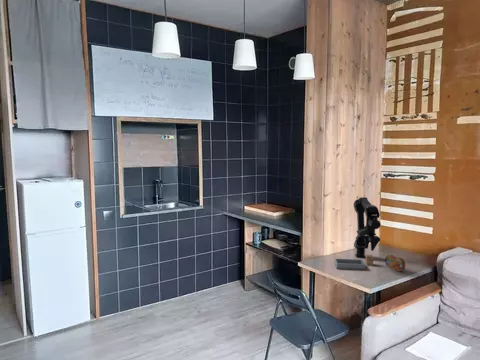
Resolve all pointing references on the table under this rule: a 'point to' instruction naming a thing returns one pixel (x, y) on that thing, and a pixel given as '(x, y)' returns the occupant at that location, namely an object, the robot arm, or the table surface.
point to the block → (369, 260)
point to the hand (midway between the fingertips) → (369, 248)
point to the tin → (395, 263)
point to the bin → (349, 264)
